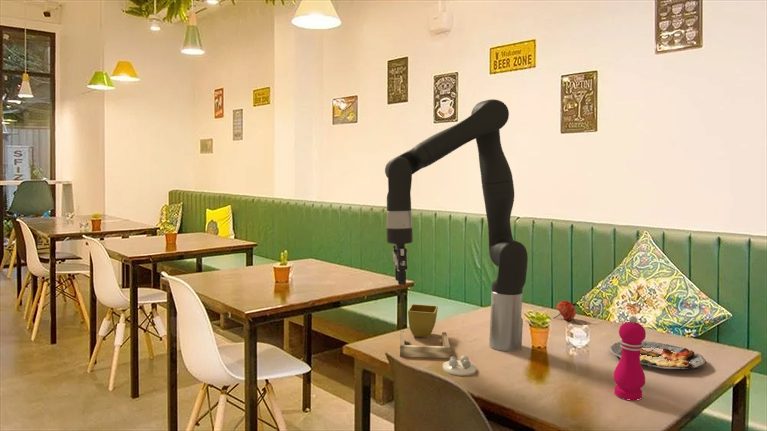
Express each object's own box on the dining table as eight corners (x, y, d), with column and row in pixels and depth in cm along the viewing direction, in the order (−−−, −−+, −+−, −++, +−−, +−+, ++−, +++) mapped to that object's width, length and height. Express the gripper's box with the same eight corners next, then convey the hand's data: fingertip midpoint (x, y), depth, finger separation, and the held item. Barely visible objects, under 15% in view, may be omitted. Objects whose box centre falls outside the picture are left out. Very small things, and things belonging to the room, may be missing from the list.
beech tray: (445, 341, 180) (446, 332, 180) (449, 358, 165) (450, 347, 165) (400, 340, 180) (400, 330, 180) (399, 356, 165) (400, 346, 165)
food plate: (714, 360, 168) (715, 348, 168) (691, 382, 151) (692, 369, 151) (627, 343, 185) (628, 332, 185) (598, 361, 168) (598, 349, 168)
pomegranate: (557, 327, 206) (581, 313, 203) (546, 310, 208) (569, 296, 205) (560, 324, 213) (584, 311, 210) (549, 307, 215) (572, 294, 212)
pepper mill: (606, 390, 144) (611, 312, 142) (634, 389, 145) (639, 312, 143) (621, 402, 137) (626, 320, 135) (650, 401, 138) (655, 320, 136)
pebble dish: (473, 364, 160) (474, 352, 160) (478, 376, 151) (478, 363, 151) (441, 363, 161) (442, 351, 160) (443, 374, 152) (444, 362, 151)
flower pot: (434, 340, 181) (434, 312, 180) (406, 338, 183) (407, 310, 182) (437, 332, 190) (437, 305, 189) (411, 330, 191) (411, 303, 190)
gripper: (415, 227, 159) (416, 285, 159) (409, 225, 173) (410, 278, 173) (388, 228, 158) (389, 286, 159) (384, 225, 172) (385, 279, 173)
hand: (400, 282), depth 166 cm, fingers open, 8 cm apart
